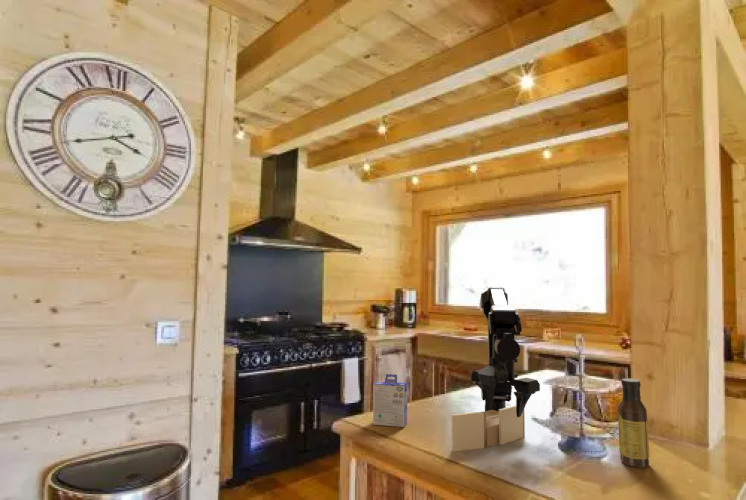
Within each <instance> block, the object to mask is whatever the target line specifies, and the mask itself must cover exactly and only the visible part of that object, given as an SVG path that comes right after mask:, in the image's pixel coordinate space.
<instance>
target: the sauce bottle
mask: <svg viewBox="0 0 746 500" xmlns="http://www.w3.org/2000/svg"><path fill="white" fill-rule="evenodd" d="M620 383H621V386H622V399H621V401H620V402H619V404H618V407H617V420H618V443H619V444H618V445H619V447H618V448H619V455H620V461H621V462H622V463H623V464H625V465H627V466H629V467H634V468H637V469H638V468H639V469H641V468H642V469H643V468H648V466H649V465H650V460H649V459H650V444H649V443H650V441H649V424H648V423H649V420H648V410H647V408H646V406H645V405H644V403H643V402H642V398H641V380H639V379H636V378H630V377H629V378H621V382H620Z"/></svg>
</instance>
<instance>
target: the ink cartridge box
mask: <svg viewBox="0 0 746 500" xmlns="http://www.w3.org/2000/svg"><path fill="white" fill-rule="evenodd" d="M391 377H393V379H392V378H391ZM372 409H373V413H372V415H373V416H372V419H373V420H372V425H374V426H383V427H385V426H387V427H401V428H405V427H406V425H407V423H408V382H404V381H403V382H402V381H398V374H388V373H386V374H385V379H384V381H379V380H378V381H376V382H375V383H374V384H373V407H372Z"/></svg>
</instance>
